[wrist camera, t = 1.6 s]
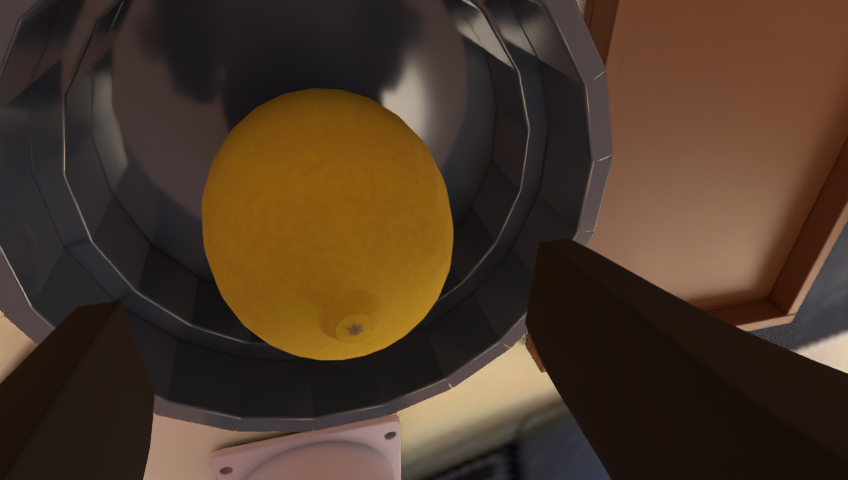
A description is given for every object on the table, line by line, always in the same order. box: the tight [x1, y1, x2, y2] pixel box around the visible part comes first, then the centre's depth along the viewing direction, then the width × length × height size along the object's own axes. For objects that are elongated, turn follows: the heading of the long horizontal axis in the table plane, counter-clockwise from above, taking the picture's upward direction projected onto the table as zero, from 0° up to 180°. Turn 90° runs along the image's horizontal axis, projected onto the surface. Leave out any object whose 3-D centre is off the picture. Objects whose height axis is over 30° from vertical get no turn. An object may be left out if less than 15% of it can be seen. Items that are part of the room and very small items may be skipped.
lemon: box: [202, 88, 453, 360], centre depth 12 cm, size 6×6×8 cm
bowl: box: [0, 0, 613, 432], centre depth 14 cm, size 14×14×5 cm
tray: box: [526, 0, 848, 373], centre depth 19 cm, size 19×13×2 cm
